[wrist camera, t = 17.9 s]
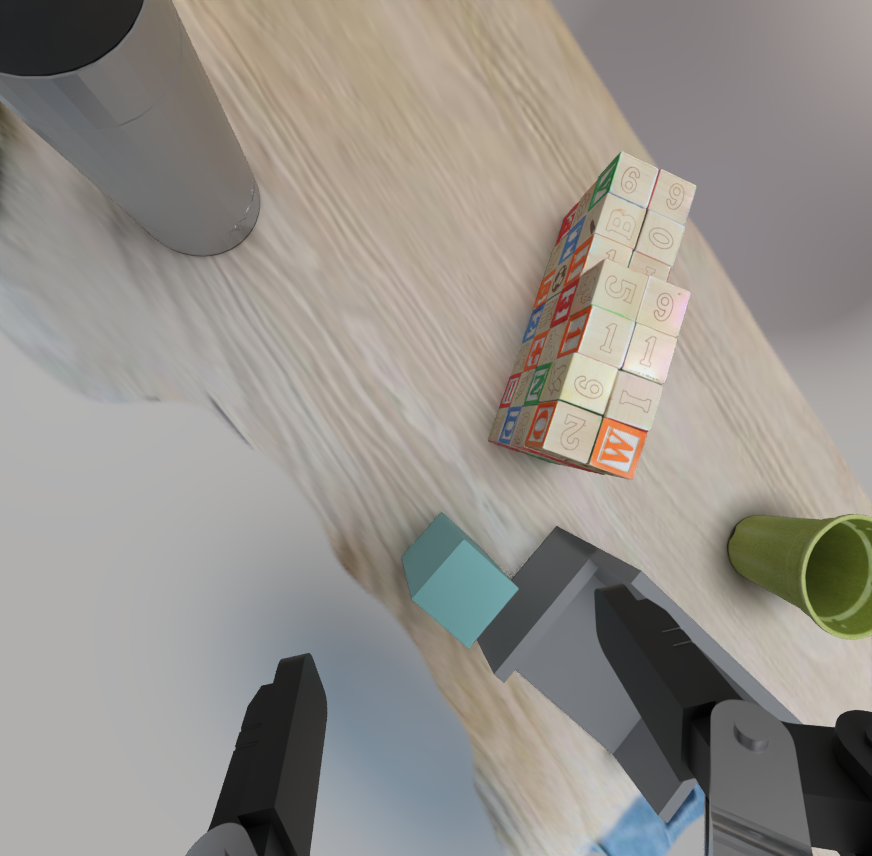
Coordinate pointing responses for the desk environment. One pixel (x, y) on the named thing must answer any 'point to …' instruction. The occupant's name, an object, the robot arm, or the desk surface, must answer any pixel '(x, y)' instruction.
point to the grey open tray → (597, 657)
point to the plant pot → (812, 567)
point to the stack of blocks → (601, 326)
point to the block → (455, 580)
